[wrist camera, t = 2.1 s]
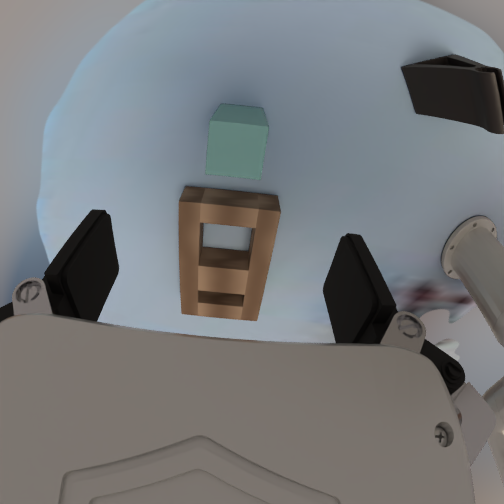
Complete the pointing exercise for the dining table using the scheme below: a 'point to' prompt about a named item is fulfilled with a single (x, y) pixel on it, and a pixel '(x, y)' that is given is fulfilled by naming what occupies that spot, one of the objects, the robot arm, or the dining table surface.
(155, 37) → the dining table surface
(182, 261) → the wooden frame
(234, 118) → the square peg
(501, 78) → the phone stand
